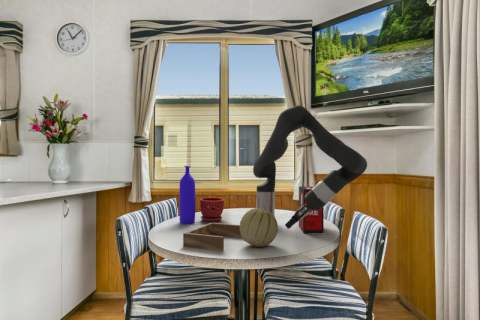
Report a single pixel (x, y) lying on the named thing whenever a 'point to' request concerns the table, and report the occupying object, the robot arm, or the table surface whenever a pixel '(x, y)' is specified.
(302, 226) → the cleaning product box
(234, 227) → the wooden serving tray
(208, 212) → the plant pot
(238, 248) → the table surface
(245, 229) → the cantaloupe
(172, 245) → the table surface
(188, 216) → the bottle
